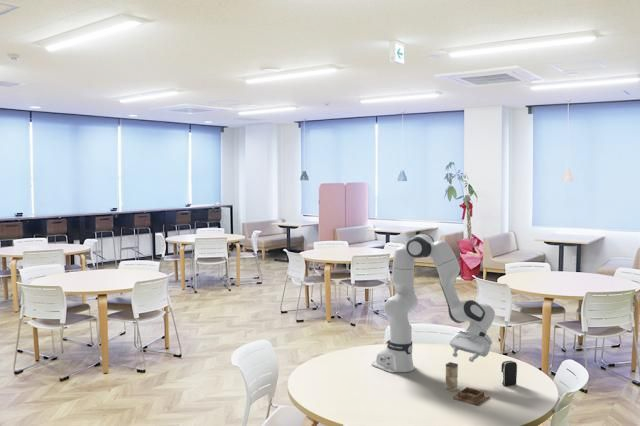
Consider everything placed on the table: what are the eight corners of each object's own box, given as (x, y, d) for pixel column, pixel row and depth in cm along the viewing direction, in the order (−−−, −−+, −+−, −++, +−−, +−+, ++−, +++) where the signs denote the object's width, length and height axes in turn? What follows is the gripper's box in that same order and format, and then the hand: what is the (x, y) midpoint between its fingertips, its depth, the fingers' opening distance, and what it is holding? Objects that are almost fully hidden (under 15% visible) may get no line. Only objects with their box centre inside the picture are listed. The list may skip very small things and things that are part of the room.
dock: (452, 398, 259) (452, 392, 258) (465, 390, 268) (465, 385, 268) (477, 405, 251) (477, 399, 251) (489, 397, 260) (489, 391, 260)
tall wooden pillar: (445, 389, 270) (445, 364, 269) (449, 386, 273) (449, 362, 272) (453, 391, 267) (453, 366, 266) (457, 388, 270) (457, 363, 269)
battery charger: (511, 382, 279) (512, 359, 278) (517, 385, 275) (517, 361, 274) (499, 384, 276) (500, 360, 276) (504, 386, 273) (505, 363, 272)
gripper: (454, 326, 286) (442, 349, 281) (490, 335, 270) (477, 360, 265) (460, 333, 289) (447, 356, 284) (495, 343, 273) (483, 367, 268)
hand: (462, 358), depth 274 cm, fingers open, 8 cm apart
